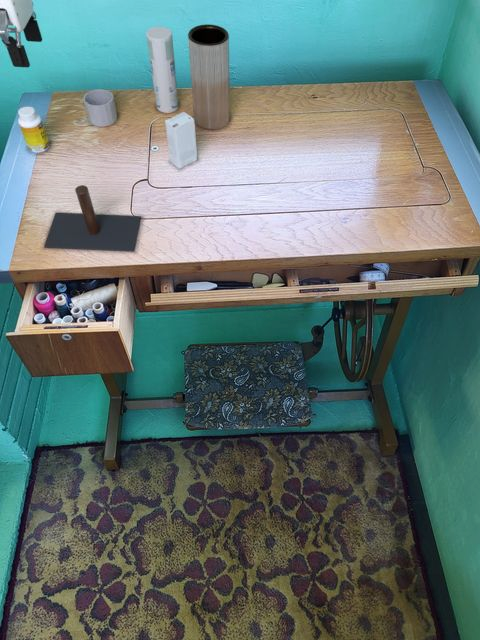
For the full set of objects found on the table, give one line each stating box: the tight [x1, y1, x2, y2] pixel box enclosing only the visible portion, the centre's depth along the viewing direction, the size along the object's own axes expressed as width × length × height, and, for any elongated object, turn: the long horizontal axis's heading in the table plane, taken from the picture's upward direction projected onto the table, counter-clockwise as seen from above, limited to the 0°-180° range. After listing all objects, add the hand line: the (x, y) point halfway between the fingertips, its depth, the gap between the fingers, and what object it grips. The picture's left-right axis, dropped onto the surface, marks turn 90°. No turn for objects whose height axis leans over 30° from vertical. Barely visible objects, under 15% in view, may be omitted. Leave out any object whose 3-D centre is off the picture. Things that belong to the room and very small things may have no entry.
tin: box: [82, 88, 118, 128], centre depth 142 cm, size 8×8×6 cm
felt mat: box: [43, 212, 142, 253], centre depth 121 cm, size 20×11×1 cm, turn 89°
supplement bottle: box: [17, 106, 50, 154], centre depth 133 cm, size 6×6×10 cm
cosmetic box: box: [164, 111, 198, 170], centre depth 131 cm, size 6×4×12 cm
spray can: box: [145, 26, 179, 114], centre depth 141 cm, size 6×6×20 cm
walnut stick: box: [74, 184, 100, 235], centre depth 116 cm, size 3×3×12 cm
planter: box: [187, 23, 231, 130], centre depth 137 cm, size 10×10×23 cm
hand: (28, 53), depth 106 cm, fingers open, 9 cm apart
